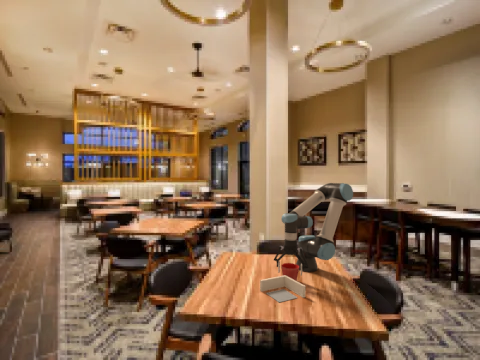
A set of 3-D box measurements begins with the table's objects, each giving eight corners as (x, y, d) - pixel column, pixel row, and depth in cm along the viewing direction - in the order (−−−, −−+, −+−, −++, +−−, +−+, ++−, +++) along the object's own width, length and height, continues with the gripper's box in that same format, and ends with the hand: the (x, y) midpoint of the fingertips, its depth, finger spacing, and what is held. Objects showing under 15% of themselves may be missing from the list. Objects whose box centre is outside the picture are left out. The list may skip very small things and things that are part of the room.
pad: (283, 289, 150) (283, 288, 150) (297, 298, 139) (297, 297, 139) (265, 293, 144) (265, 292, 144) (279, 302, 133) (279, 302, 133)
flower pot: (299, 285, 155) (299, 269, 155) (280, 283, 158) (280, 267, 158) (298, 279, 166) (299, 263, 166) (281, 277, 168) (281, 262, 168)
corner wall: (285, 285, 156) (285, 275, 156) (305, 297, 140) (305, 285, 140) (260, 290, 147) (260, 280, 147) (278, 303, 132) (278, 292, 132)
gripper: (269, 238, 162) (268, 273, 162) (311, 242, 154) (310, 278, 154) (271, 236, 169) (271, 269, 169) (311, 239, 162) (311, 273, 162)
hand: (290, 273), depth 162 cm, fingers open, 13 cm apart
